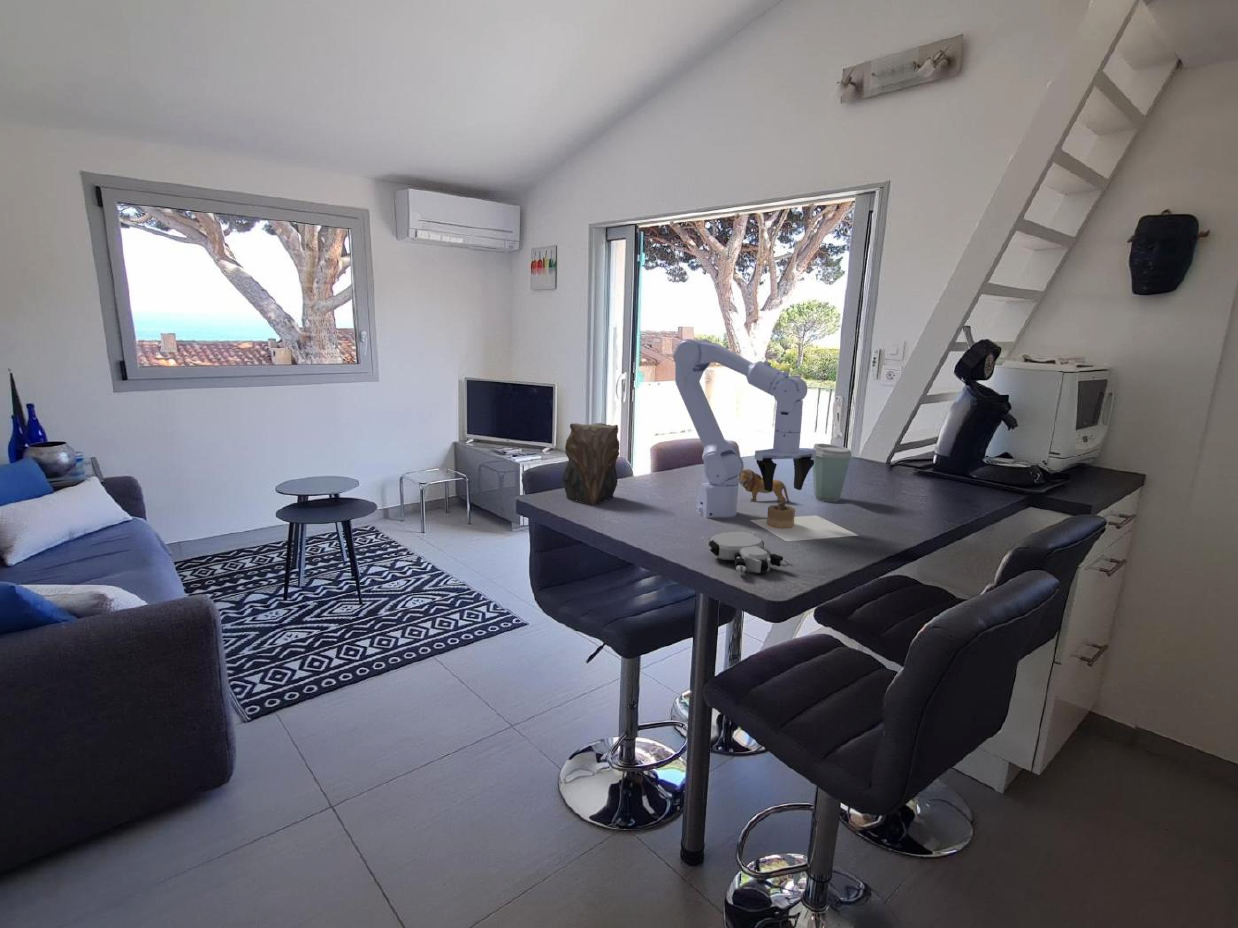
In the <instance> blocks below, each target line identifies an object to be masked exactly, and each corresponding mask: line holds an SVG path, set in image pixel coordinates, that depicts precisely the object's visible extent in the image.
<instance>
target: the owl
mask: <svg viewBox="0 0 1238 928" xmlns="http://www.w3.org/2000/svg"><path fill="white" fill-rule="evenodd" d="M569 428H570V433H569V435H568V437H567V438H566V442H565V446H564V449H565V451H564V454H565V455H566V457H567V463H566V465H565V466H564V471H563V473H562V476H561V480H562V485H563V488H564V492H565V494H566V496H565V498H566V497H567V498H569V499H568V500H571V499H574V500H577V501H576V502H578V501H581V502H580V503H582V502H583V504H584V503H586V504H585V505H589V504H590V506H593V505H596V506H597V504H598V505H600V504H602V503H604V502H606V501H605V500H607V501H608V500H610V499H609V498H611V499H613V498H614V493H615V492H616V491H615V490H616V489H617V486H618V474H617V470H616V464H617V460H618V457H619V456H620V451H619V450H620V440H619V438H618V433H619V425H618V424H614V425H611V424H607V423H602V422H598V423H597V422H596V423H593V424H588V423H587V424H581V423H570V424H569ZM612 497H613V498H612ZM567 498H566V499H567ZM574 500H573V501H574ZM603 501H604V502H603ZM601 502H602V503H601ZM599 503H600V504H599Z"/></svg>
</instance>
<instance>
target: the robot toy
mask: <svg viewBox="0 0 1238 928" xmlns="http://www.w3.org/2000/svg"><path fill="white" fill-rule="evenodd" d="M700 539H701V540H702V541H703V542H704V544H705V545H706V547H707V549H708V551H710V552H711V553H712V554H713V555H714V556H716V557H717V558H719V559H721V560H722V561H734V567H735V570H736V571H737V572H744V573H745V572H748V573H757V574H758V573H759V574H760V573H761V572H770V567H771V565H772V566H776V567H783V568H785V567H787V566H790V561H789V560H787V559H784V557H783V556H782V555H779V554H776V553H771V554H769V552H768V551H766V550H765V549H764V548H765V542H764V541H763V540H762V539H761V538H759V536H758V535H757V534H756V532H755V531H752V533H751V532H746V531H730V532H729V531H727V532H721V533H718V534H715V535H713V536H711V537H710V540H709V542H708V543H707V541H706V540H705V537H704V536H701V538H700Z"/></svg>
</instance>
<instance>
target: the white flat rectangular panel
mask: <svg viewBox="0 0 1238 928" xmlns="http://www.w3.org/2000/svg"><path fill="white" fill-rule="evenodd" d="M750 521H751V522H753V523H754V524H756V525H758V526H759V527H761V528H762V529H764V530H766V531H768V532H770V534H771V533H772V534H773V535H774V536H777V537H778V538H780V539H782V540H784V541H785V542H796V541H809V540H822V539H833V538H843V537H855V536H856V537H857V536H859V534H857V533H854V532H852V531H850V530H849V529H846V528H844V527H841V526H840V525H838V524H836V523H833V522H831V521H829V520H827V519H824V518H822V517H821V516H818V515H815V514H814V515H802V516H794V526H793V527H792V528H785V529H781V528H775V527H771V526H769V525H767V518H761V519H760V518H758V519H750Z"/></svg>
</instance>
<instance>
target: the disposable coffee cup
mask: <svg viewBox="0 0 1238 928" xmlns="http://www.w3.org/2000/svg"><path fill="white" fill-rule="evenodd" d="M812 449H814V450H816V458H811V459H812V460H814V465H813V466H812V477H813V479H812V481H813V493H814V497H815V499H816V500H818V501H821V502H826V503H828V502H829V503H834V502H839V500H840V498H841V495H842V491H843V489H844V484H845V480H846V476H847V473H848V472H847V471H848V470H849V469H848V468H849V465H850V461H851V458H852V451H851V450H850V449H849V448H847V447H844V446H842V445H841V446H840V445H836V444H831V443H829V444H828V443H815V444H813V448H812Z"/></svg>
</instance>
